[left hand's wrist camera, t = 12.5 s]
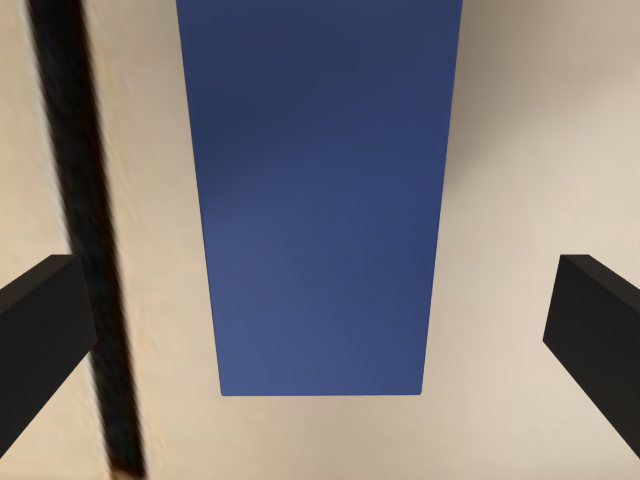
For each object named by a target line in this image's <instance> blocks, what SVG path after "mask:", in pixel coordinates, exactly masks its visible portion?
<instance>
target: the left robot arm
mask: <svg viewBox="0 0 640 480" xmlns="http://www.w3.org/2000/svg"><path fill="white" fill-rule="evenodd" d="M96 342H97V336H96V331H95V326H94V322H93V317H92V312H91V307H90V302H89V298H88V293H87V288H86V283H85V278H84V274H83V269H82V264H81V259H80V255H50V256H49V257H47V258H46V259H44V260H43V261H41V262H40V263H38V264H37V265H35V266H34V267H33V268H31V269H30V270H28V271H27V272H25V273H24V274H22V275H21V276H19V277H18V278H16V279H15V280H14V281H12V282H11V283H9V284H8V285H6V286H5V287H3V288H2V289H0V459H1V457H2V456H3V455H4V454H5V453H6V451H7V450H8V449H9V448H10V446H11V445H12V444H13V443H14V442H15V440H16V439H17V438H18V437H19V436H20V434H21V433H22V432H23V431H24V429H25V428H26V427H27V426H28V425H29V423H30V422H31V421H32V420H33V419H34V417H35V416H36V415H37V414H38V412H39V411H40V410H41V409H42V408H43V406H44V405H45V404H46V403H47V402H48V400H49V399H50V398H51V397H52V395H53V394H54V393H55V392H56V391H57V389H58V388H59V387H60V386H61V385H62V383H63V382H64V381H65V380H66V378H67V377H68V376H69V375H70V374H71V372H72V371H73V370H74V369H75V368H76V366H77V365H78V364H79V363H80V361H81V360H82V359H83V358H84V357H85V355H86V354H87V353H88V352H89V351H90V349H91V348H92V347H93V346H94V344H95V343H96ZM543 342H544V343H545V344H546V346H547V347H548V348H549V349H550V351H551V352H552V353H553V354H554V355H555V357H556V358H557V359H558V360H559V361H560V363H561V364H562V365H563V366H564V368H565V369H566V370H567V371H568V372H569V374H570V375H571V376H572V377H573V378H574V380H575V381H576V382H577V383H578V385H579V386H580V387H581V388H582V389H583V391H584V392H585V393H586V394H587V395H588V397H589V398H590V399H591V400H592V402H593V403H594V404H595V405H596V406H597V408H598V409H599V410H600V411H601V412H602V414H603V415H604V416H605V417H606V419H607V420H608V421H609V422H610V423H611V425H612V426H613V427H614V428H615V429H616V431H617V432H618V433H619V434H620V436H621V437H622V438H623V439H624V440H625V442H626V443H627V444H628V445H629V446H630V448H631V449H632V450H633V451H634V453H635V454H636V455H637V456H638V457H639V459H640V289H638V288H637V287H635V286H634V285H632V284H631V283H629V282H628V281H626V280H625V279H624V278H622V277H621V276H619V275H618V274H616V273H615V272H613V271H612V270H610V269H609V268H607V267H606V266H605V265H603V264H602V263H600V262H599V261H597V260H596V259H594V258H593V257H591V256H590V255H560V259H559V264H558V269H557V274H556V278H555V283H554V288H553V293H552V298H551V302H550V307H549V312H548V317H547V322H546V326H545V331H544V336H543Z"/></svg>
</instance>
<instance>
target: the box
mask: <svg viewBox="0 0 640 480" xmlns="http://www.w3.org/2000/svg"><path fill="white" fill-rule="evenodd" d="M176 6H177V14H178V23H179V32H180V40H181V49H182V58H183V66H184V75H185V84H186V92H187V101H188V110H189V118H190V127H191V136H192V145H193V153H194V162H195V171H196V179H197V188H198V197H199V205H200V214H201V223H202V231H203V240H204V249H205V257H206V266H207V275H208V284H209V292H210V301H211V310H212V318H213V327H214V336H215V344H216V353H217V362H218V370H219V379H220V388H221V394H222V396H329V395H420V394H421V392H422V382H423V373H424V363H425V353H426V344H427V334H428V325H429V315H430V306H431V296H432V287H433V277H434V268H435V258H436V248H437V239H438V229H439V220H440V210H441V201H442V191H443V182H444V172H445V163H446V153H447V143H448V134H449V124H450V115H451V105H452V96H453V86H454V77H455V67H456V57H457V48H458V38H459V29H460V19H461V10H462V0H176Z"/></svg>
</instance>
